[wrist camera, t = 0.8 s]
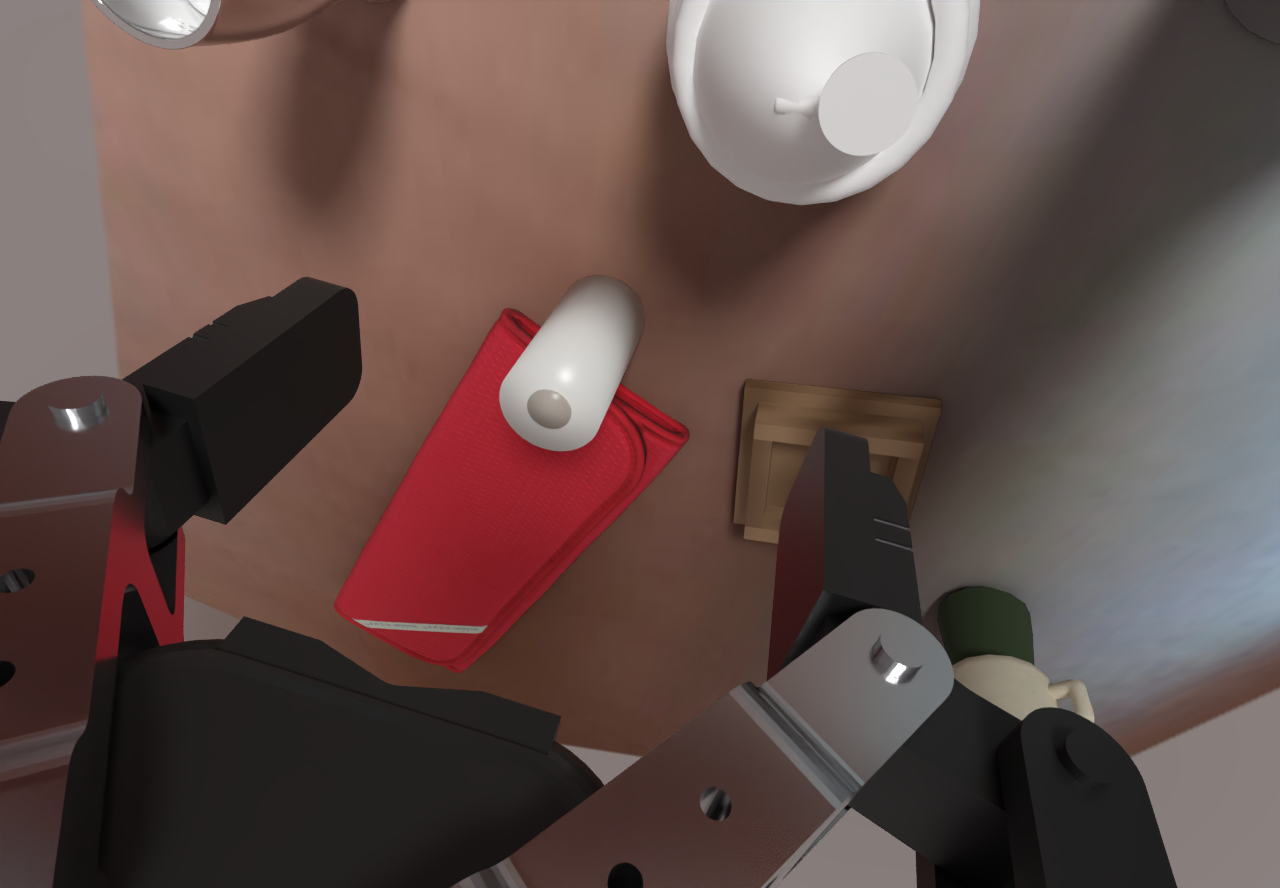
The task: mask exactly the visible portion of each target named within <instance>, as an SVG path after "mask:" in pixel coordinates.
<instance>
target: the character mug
mask: <svg viewBox="0 0 1280 888" xmlns="http://www.w3.org/2000/svg"><path fill="white" fill-rule="evenodd" d="M937 620H938V624H939V628H940V632H941V636H942V639H943V643H944V646H945V649H946V652H947V655H948V657H949V659H950V661H951V664H952V668H953V673H954V678H955V679H956V680H957V681H959V682H960V683H961V684H962V685H964V686H965V687H966V688H968V689H969V690H971V691H973V692H974V693H976V694H977V695H979V696H981V697H982V698H984V699H986V700H987V701H989V702H991V703H993V704H994V705H996V706H998V707H999V708H1001V709H1003V710H1004V711H1006V712H1008V713H1010V714H1011V715H1013V716H1015V717H1016V718H1018V719H1020V720H1023V719H1024V718H1025V717H1026V716H1027V715H1028V714H1029V713H1031V712H1032V711H1034V710H1036V709H1039V708H1044V707H1054V708H1061V706H1060V703H1059V700H1061V699H1065V698H1069V697H1071V699H1072V702H1073V706H1074V709H1075V713H1076V714H1078V715H1081V716H1082V717H1084V718H1086V719H1088V720H1090V721H1091V722H1093V723H1094V714H1093V710H1092V707H1091V704H1090V700H1089V697H1088V694H1087V690H1086V687H1085V685H1084V684H1083V683H1082V681H1080V680H1066V681H1062V682H1058V683H1055V684H1052V683H1051V681H1050V680H1049V679H1048V678H1047V676H1046V675H1045V674H1044V673H1043V672H1041V671H1040V670H1039V669H1038V668H1036V667H1035V666H1034V651H1033V633H1032V626H1031V618H1030V613H1029V611H1028V609H1027V607H1026V605H1025V603H1023V602H1022V601H1020V600H1019V599H1017V598H1016V597H1014V596H1013V595H1011V594H1009V593H1006V592H1003V591H1000V590H996V589H993V588H972V587H968V588H966V589H963V590H960V591H958V592H955V593H952V594H950V595H949V596H948V597H947V599H946V600H945V601H944V602H943V603H942V604H941V605H940V607H939V613H938V619H937Z"/></svg>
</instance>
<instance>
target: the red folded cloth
mask: <svg viewBox="0 0 1280 888" xmlns="http://www.w3.org/2000/svg"><path fill="white" fill-rule="evenodd" d="M540 328H541V327H540V326H539V325H537V324H536V323H535V322H533V321H532V320H531V319H529V318H528V317H527V316H525V315H524V314H523V313H521V312H519V311H517V310H515V309H509V308H507V309H504V310H503V311H502V313H501V316H500V318H499V319H498V320H497V321H496V322H495V324H494V325H493V327H492V328H491V330H490V331H489V333H488V335H487V336H486V338H485V340H484V342H483V344H482V346H481V347H480V349H479V351H478V353H477V355H476V356H475V358H474V360H473V362H472V363H471V365H470V367H469V369H468V370H467V372H466V374H465V375H464V377H463V378H462V380H461V382H460V383H459V385H458V387H457V388H456V390H455V391H454V393H453V394H452V396H451V398H450V400H449V401H448V403H447V404H446V406H445V408H444V409H443V411H442V413H441V415H440V417H439V418H438V420H437V421H436V423H435V425H434V426H433V428H432V430H431V431H430V433H429V435H428V437H427V438H426V440H425V442H424V444H423V445H422V447H421V449H420V450H419V452H418V453H417V455H416V457H415V459H414V460H413V462H412V464H411V466H410V468H409V470H408V472H407V474H406V475H405V477H404V479H403V481H402V482H401V484H400V486H399V488H398V489H397V491H396V493H395V494H394V496H393V498H392V500H391V502H390V504H389V505H388V507H387V509H386V510H385V512H384V514H383V516H382V517H381V519H380V521H379V523H378V524H377V526H376V528H375V530H374V531H373V533H372V535H371V537H370V538H369V540H368V542H367V544H366V545H365V547H364V548H363V550H362V552H361V554H360V556H359V558H358V560H357V562H356V563H355V565H354V567H353V569H352V571H351V573H350V575H349V576H348V578H347V580H346V581H345V583H344V585H343V587H342V589H341V591H340V593H339V594H338V596H337V599H336V601H335V603H334V608H335V610H336V611H337V613H338V614H339V615H340V616H342V617H343V618H344V619H346V620H347V621H349V622H351V623H353V624H354V625H356V626H358V627H360V628H361V629H363V630H365V631H366V632H368V633H370V634H371V635H373V636H375V637H376V638H378V639H380V640H382V641H384V642H386V643H388V644H390V645H391V646H393V647H395V648H396V649H398V650H400V651H402V652H404V653H406V654H408V655H410V656H412V657H414V658H416V659H419V660H421V661H424V662H428V663H431V664H435V665H441V666H445V667H446V668H448V669H449V670H451V671H453V672H456V673H461V672H463V671H464V670H465V669H467V668H468V667H469V666H471V665H472V664H473V663H474V662H475V661H476V660H477V659H478V658H479V657H480V656H481V655H483V654H484V653H485V652H486V651H487V650H488V649H489V648H491V647H492V646H493V645H494V644H495V643H496V642H497V641H498V640H499V639H500V638H501V637H502V636H503V635H504V634H505V633H506V632H507V631H508V630H509V628H510V627H511V626H512V625H513V624H514V623H515V622H516V621H517V620H518V619H519V618H520V617H521V616H522V615H523V614H524V613H525V612H526V611H527V609H528V608H530V607H531V606H532V605H533V604H534V603H535V602H536V601H537V600H538V599H539V598H540V597H541V596H542V595H543V594H544V593H545V592H546V591H547V590H548V589H549V588H550V586H551V585H552V584H553V583H554V582H555V581H556V580H557V579H558V578H559V576H560V575H561V574H562V573H563V572H564V571H565V570H566V569H567V568H568V567H569V566H570V565H571V564H572V563H573V562H574V561H575V560H576V559H577V558H578V556H579V555H580V554H581V553H582V552H583V551H584V550H585V549H586V548H587V547H588V546H589V545H590V544H591V543H592V542H593V541H594V540H595V539H596V538H597V537H598V536H599V535H600V534H601V533H602V532H603V531H605V530H606V529H607V528H608V527H609V526H610V525H611V524H612V523H613V522H614V521H615V520H616V519H617V518H618V516H619V515H620V514H621V513H622V512H623V511H624V510H625V509H626V508H627V507H628V506H629V505H630V504H631V503H632V502H633V501H634V500H635V499H636V498H637V497H638V496H639V495H640V493H641V492H642V491H643V490H644V489H645V488H646V487H647V486H648V485H649V484H650V483H651V482H652V481H653V480H654V478H655V477H656V476H657V475H658V474H659V473H660V472H661V471H662V469H663V468H664V467H665V466H666V465H667V464H668V463H669V462H670V461H671V460H672V458H673V457H674V456H675V455H676V454H677V452H678V451H679V450H680V449H681V448H682V446H683V445H684V444H685V443H686V442H687V441H688V439H689V431H688V429H687V428H686V427H685V426H684V425H683V424H681V423H679V422H678V421H676V420H674V419H672V418H671V417H669V416H667V415H666V414H664V413H663V412H661V411H659V410H658V409H657V408H655V407H654V406H652V405H651V404H649V403H648V402H647V401H645V400H644V399H642V398H641V397H640V396H638V395H636V394H635V393H633V392H632V391H630V390H629V389H627V388H626V387H625V386H623V385H622V384H619V386H618V388H617V390H616V392H615V395H614V397H613V399H612V401H611V403H610V406H609V408H608V410H607V412H606V414H605V417H604V419H603V421H602V423H601V425H600V427H599V430H598V432H597V433H596V435H595V436H594V438H593V439H592V440H591V441H590V442H589V443H587V444H586V445H584V446H582V447H580V448H578V449H575V450H570V451H552V450H547V449H544V448H541V447H538V446H536V445H534V444H532V443H530V442H528V441H527V440H525V439H523V438H522V437H521V436H520V435H518V434H517V433H516V432H515V431H514V430H513V428H512V427H511V426H510V425H509V423H508V422H507V420H506V419H505V417H504V415H503V412H502V410H501V406H500V400H499V394H500V388H501V385H502V382H503V381H504V379H505V377H506V376H507V374H508V373H509V372H510V370H511V369H512V367H513V366H514V365H515V363H516V362H517V360H518V359H519V358H520V356H521V355H522V353H523V352H524V351H525V349H526V348H527V346H528V345H529V344H530V342H531V341H532V339H533V338H534V337H535V335H536V334H537V332H538V331H539V330H540Z"/></svg>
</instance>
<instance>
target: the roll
mask: <svg viewBox="0 0 1280 888" xmlns="http://www.w3.org/2000/svg"><path fill="white" fill-rule="evenodd" d="M644 326H645V314H644V309H643V306H642V304H641V302H640V300H639V298H638V297H637V295H636V294H635V293H634V292H633V291H632V290H631V289H630V288H629V287H628V286H627V285H625V284H624V283H622V282H621V281H619V280H617V279H614V278H611V277H608V276H601V275H594V276H588V277H584V278H582V279H580V280H578V281H576V282H575V283H574V284H573V285H571V287H570V288H569V289H568V290H567V292H566V293H565V294H564V296H563V297H562V299H561V300H560V301H559V303H558V304H557V306H556V307H555V308H554V310H553V311H552V313H551V314H550V315H549V317H548V318H547V320H546V321H545V323H544V324H543V325H542V327H541V328H540V330H539V331H538V332H537V334H536V335H535V337H534V338H533V339H532V341H531V342H530V344H529V345H528V346H527V348H526V349H525V351H524V352H523V353H522V355H521V356H520V358H519V359H518V360H517V362H516V363H515V365H514V366H513V367H512V369H511V370H510V372H509V373H508V374H507V376H506V377H505V379H504V381H503V382H502V385H501V388H500V394H499V400H500V406H501V410H502V412H503V415H504V417H505V419H506V420H507V422H508V423H509V425H510V426H511V427H512V428H513V430H514V431H515V432H516V433H517V434H518V435H520V436H521V437H522V438H523V439H525V440H527V441H528V442H530V443H532V444H534V445H536V446H538V447H541V448H544V449H547V450H552V451H570V450H575V449H578V448H580V447H582V446H584V445H586V444H587V443H589V442H590V441H591V440H592V439H593V438H594V436H595V435H596V433H597V432H598V430H599V427H600V425H601V423H602V421H603V419H604V417H605V414H606V412H607V410H608V408H609V406H610V403H611V401H612V399H613V397H614V395H615V392H616V390H617V388H618V386H619V384H620V382H621V379H622V377H623V375H624V373H625V371H626V368H627V366H628V364H629V362H630V360H631V358H632V355H633V353H634V351H635V349H636V347H637V344H638V342H639V340H640V338H641V336H642V333H643V331H644Z"/></svg>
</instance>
